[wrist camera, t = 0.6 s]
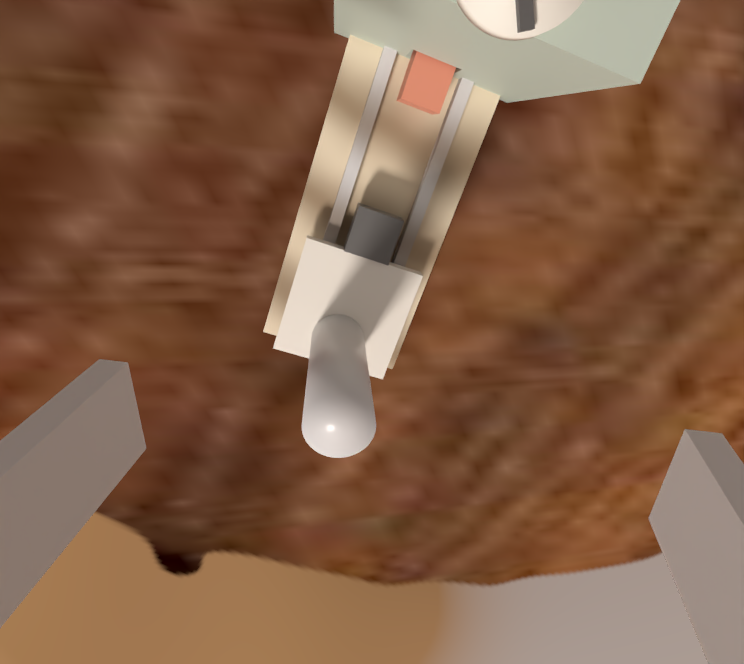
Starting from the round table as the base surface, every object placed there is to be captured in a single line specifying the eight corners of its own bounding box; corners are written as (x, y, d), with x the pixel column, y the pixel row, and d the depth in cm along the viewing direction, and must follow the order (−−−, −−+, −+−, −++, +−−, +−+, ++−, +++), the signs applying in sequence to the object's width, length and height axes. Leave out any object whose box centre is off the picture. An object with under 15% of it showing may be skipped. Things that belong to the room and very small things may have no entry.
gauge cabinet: (357, -50, 30) (381, -242, 15) (536, 29, 33) (727, -64, 17) (331, 40, 32) (328, -44, 16) (504, 110, 34) (650, 95, 18)
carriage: (321, 189, 33) (313, 223, 21) (436, 229, 34) (488, 281, 23) (275, 341, 37) (247, 440, 25) (381, 371, 38) (401, 478, 26)
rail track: (349, 38, 32) (350, 31, 30) (493, 97, 34) (505, 94, 32) (265, 324, 39) (261, 336, 36) (390, 360, 40) (393, 375, 38)
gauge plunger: (419, 30, 30) (426, 22, 28) (456, 46, 31) (466, 39, 29) (396, 100, 32) (400, 98, 29) (432, 114, 32) (439, 113, 30)
